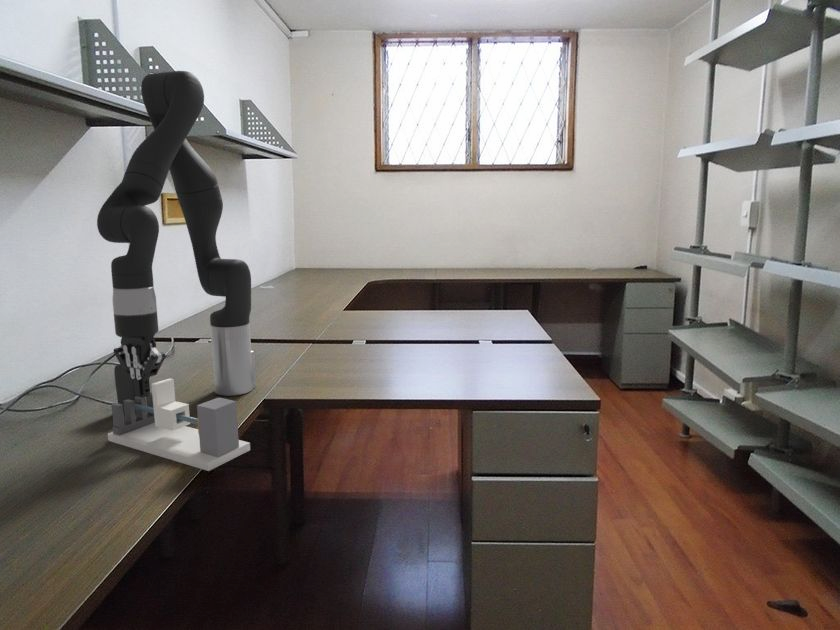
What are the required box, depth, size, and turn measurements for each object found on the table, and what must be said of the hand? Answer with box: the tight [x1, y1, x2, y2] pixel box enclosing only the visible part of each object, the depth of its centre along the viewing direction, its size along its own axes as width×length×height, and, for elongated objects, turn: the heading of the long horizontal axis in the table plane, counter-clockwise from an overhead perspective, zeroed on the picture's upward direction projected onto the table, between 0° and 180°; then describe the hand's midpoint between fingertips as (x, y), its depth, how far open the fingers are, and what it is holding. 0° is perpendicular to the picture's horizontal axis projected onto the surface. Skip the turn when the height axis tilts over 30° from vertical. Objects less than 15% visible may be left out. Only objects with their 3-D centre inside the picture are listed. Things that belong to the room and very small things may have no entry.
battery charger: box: [113, 363, 136, 414], centre depth 127 cm, size 7×4×11 cm, turn 63°
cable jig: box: [107, 391, 251, 472], centre depth 109 cm, size 10×28×10 cm, turn 62°
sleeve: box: [150, 378, 191, 431], centre depth 109 cm, size 4×5×8 cm
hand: (142, 396), depth 112 cm, fingers closed
